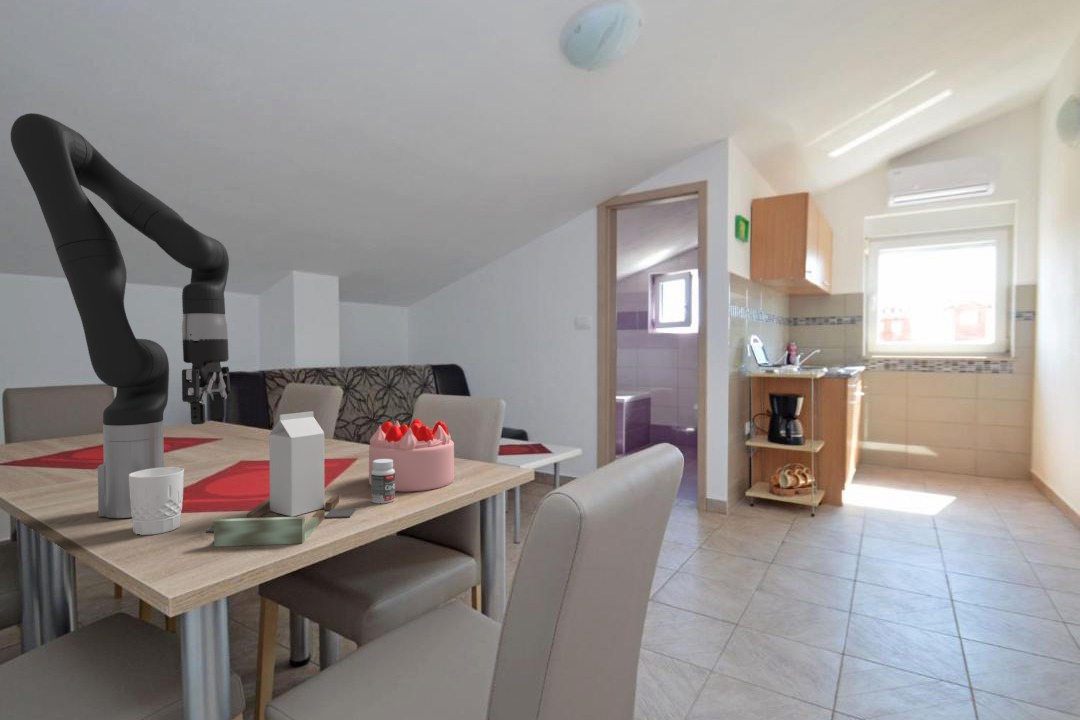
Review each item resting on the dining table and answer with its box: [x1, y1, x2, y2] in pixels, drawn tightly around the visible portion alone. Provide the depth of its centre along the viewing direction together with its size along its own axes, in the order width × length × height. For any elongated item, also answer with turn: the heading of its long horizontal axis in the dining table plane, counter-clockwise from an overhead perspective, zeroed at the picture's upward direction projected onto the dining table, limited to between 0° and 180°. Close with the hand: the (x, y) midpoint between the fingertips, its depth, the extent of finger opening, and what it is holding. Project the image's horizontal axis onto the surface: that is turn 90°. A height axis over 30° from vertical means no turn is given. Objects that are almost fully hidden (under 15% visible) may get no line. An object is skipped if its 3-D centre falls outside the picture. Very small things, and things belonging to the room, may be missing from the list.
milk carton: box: [268, 410, 325, 517], centre depth 105 cm, size 7×7×19 cm
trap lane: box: [213, 494, 340, 547], centre depth 98 cm, size 13×24×4 cm, turn 7°
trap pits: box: [205, 507, 356, 534], centre depth 99 cm, size 25×6×1 cm, turn 115°
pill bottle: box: [370, 459, 396, 504], centre depth 112 cm, size 5×5×8 cm
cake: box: [368, 418, 455, 493], centre depth 129 cm, size 20×20×14 cm
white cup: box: [129, 466, 185, 536], centre depth 94 cm, size 8×8×10 cm
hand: (209, 421), depth 105 cm, fingers open, 8 cm apart
